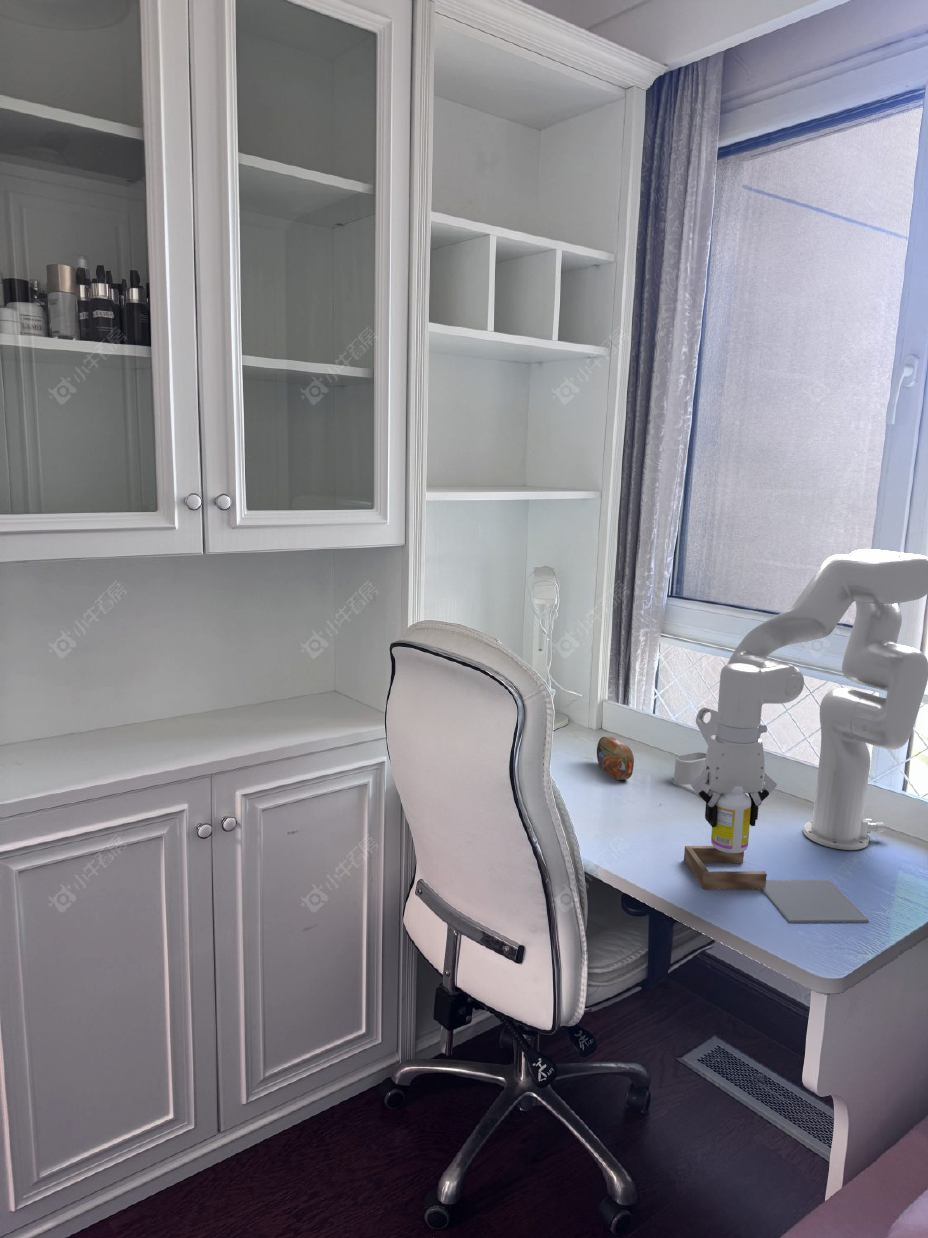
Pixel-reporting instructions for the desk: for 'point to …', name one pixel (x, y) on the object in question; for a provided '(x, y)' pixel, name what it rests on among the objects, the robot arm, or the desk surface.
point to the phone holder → (695, 755)
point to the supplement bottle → (732, 822)
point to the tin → (615, 758)
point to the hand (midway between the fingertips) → (730, 822)
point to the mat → (812, 901)
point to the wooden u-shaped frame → (721, 879)
